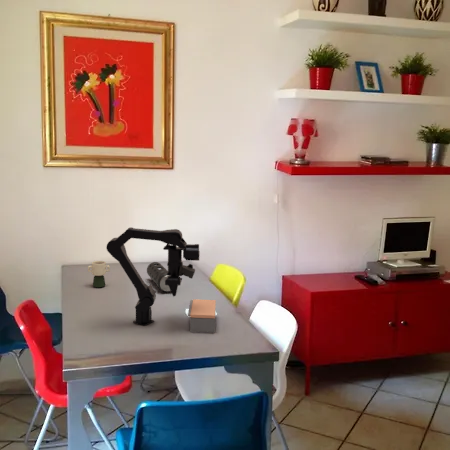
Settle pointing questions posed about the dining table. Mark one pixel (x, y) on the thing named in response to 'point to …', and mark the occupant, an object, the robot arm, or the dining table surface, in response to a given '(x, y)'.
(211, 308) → the lid
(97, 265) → the trophy cup
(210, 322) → the cable box
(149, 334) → the dining table surface
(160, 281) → the muzzle brake
